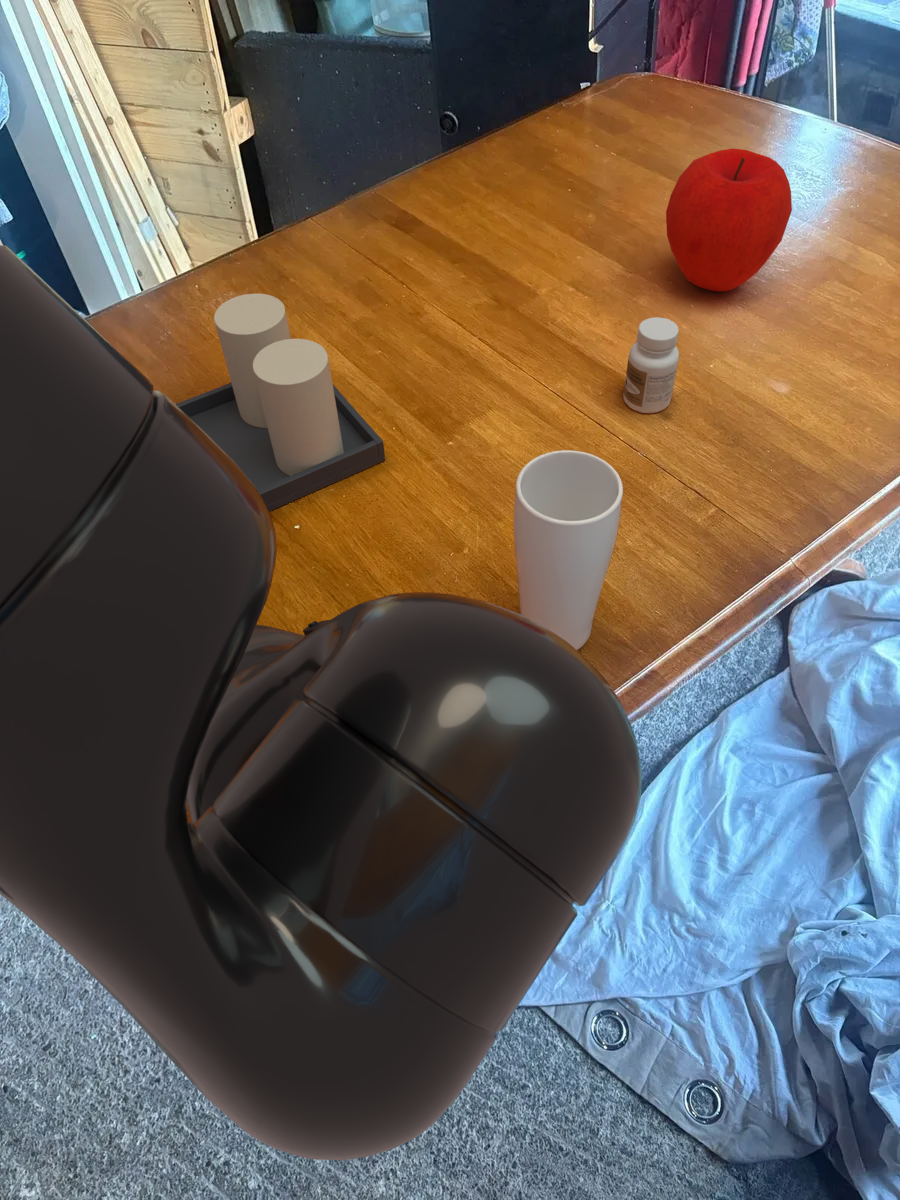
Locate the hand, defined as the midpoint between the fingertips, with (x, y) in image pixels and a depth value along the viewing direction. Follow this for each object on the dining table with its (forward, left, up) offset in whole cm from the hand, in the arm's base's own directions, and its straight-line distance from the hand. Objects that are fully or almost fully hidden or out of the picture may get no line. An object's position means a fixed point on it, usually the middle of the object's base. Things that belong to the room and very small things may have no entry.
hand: (216, 683), depth 49 cm
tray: (+10, +31, -13) cm, 35 cm away
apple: (+65, +28, -13) cm, 72 cm away
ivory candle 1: (+17, +35, -12) cm, 41 cm away
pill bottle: (+47, +17, -13) cm, 52 cm away
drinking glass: (+24, 0, -13) cm, 28 cm away
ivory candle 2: (+17, +27, -12) cm, 35 cm away
